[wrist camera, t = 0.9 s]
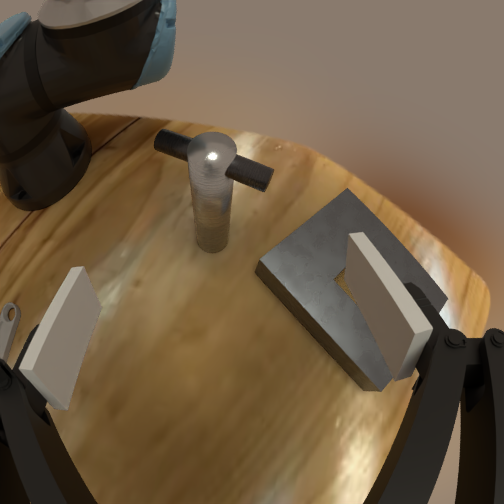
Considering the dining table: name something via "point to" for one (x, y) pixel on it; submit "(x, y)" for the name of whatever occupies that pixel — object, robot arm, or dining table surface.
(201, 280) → the dining table surface
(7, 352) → the adjustable wrench
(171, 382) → the dining table surface
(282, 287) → the block
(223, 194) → the chuck key
